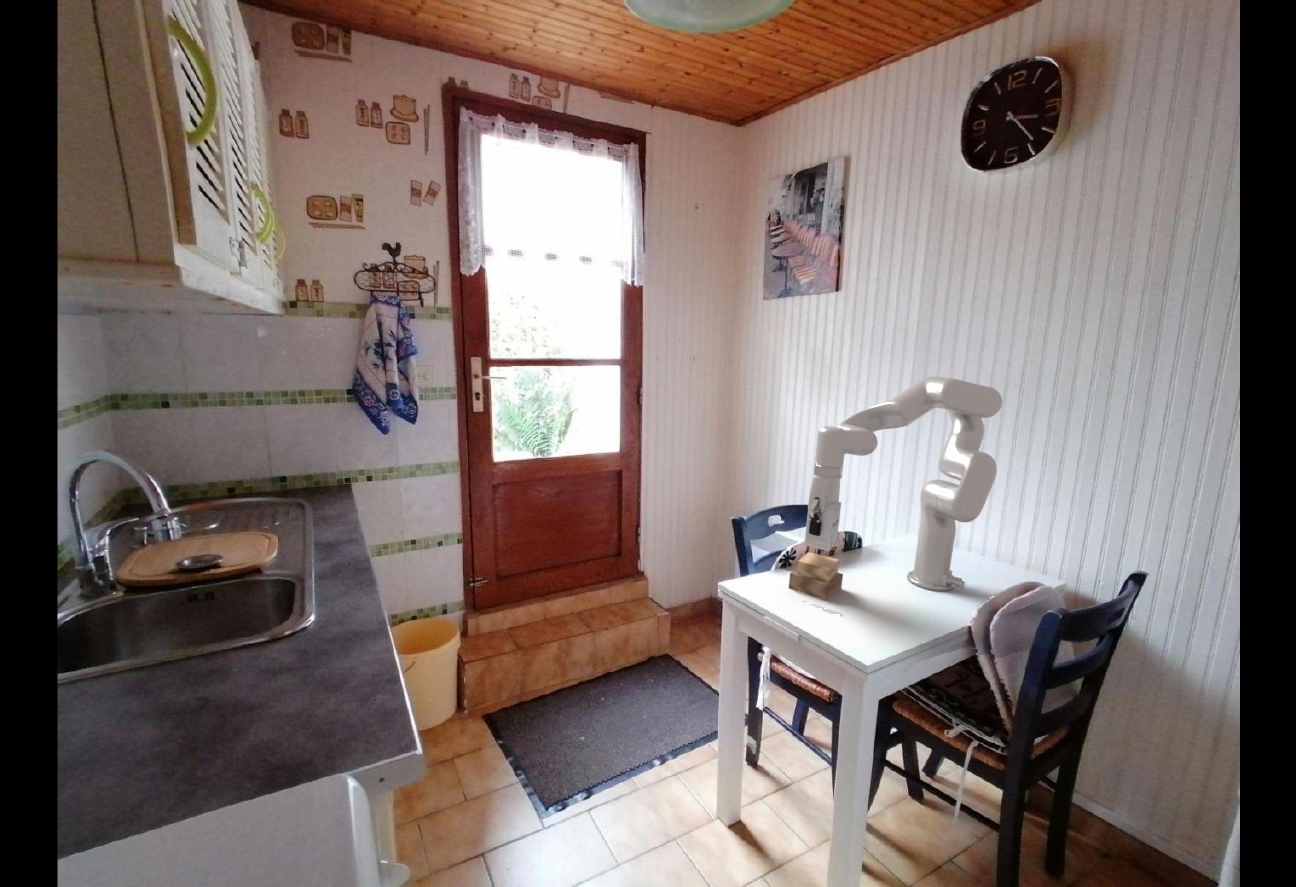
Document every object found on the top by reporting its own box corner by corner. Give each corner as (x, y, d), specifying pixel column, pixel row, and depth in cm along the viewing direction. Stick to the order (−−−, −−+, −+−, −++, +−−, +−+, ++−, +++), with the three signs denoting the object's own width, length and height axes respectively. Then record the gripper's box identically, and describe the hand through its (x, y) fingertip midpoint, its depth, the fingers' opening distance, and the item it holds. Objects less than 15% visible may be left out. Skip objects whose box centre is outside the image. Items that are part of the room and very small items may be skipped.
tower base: (841, 590, 162) (843, 574, 161) (824, 602, 154) (826, 585, 153) (805, 578, 169) (807, 562, 168) (788, 589, 161) (790, 572, 160)
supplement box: (829, 551, 154) (834, 507, 152) (803, 545, 158) (807, 502, 156) (837, 544, 160) (842, 502, 158) (811, 538, 164) (816, 497, 162)
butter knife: (840, 617, 144) (845, 614, 146) (759, 587, 160) (765, 584, 162) (840, 619, 144) (844, 615, 146) (759, 588, 160) (765, 585, 162)
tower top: (837, 572, 162) (839, 559, 161) (828, 582, 154) (830, 569, 154) (807, 564, 167) (808, 552, 166) (796, 574, 159) (798, 560, 158)
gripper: (829, 464, 164) (822, 522, 167) (800, 472, 151) (794, 534, 154) (854, 469, 159) (846, 528, 162) (827, 478, 146) (819, 542, 149)
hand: (821, 531), depth 158 cm, fingers closed on supplement box, 7 cm apart
